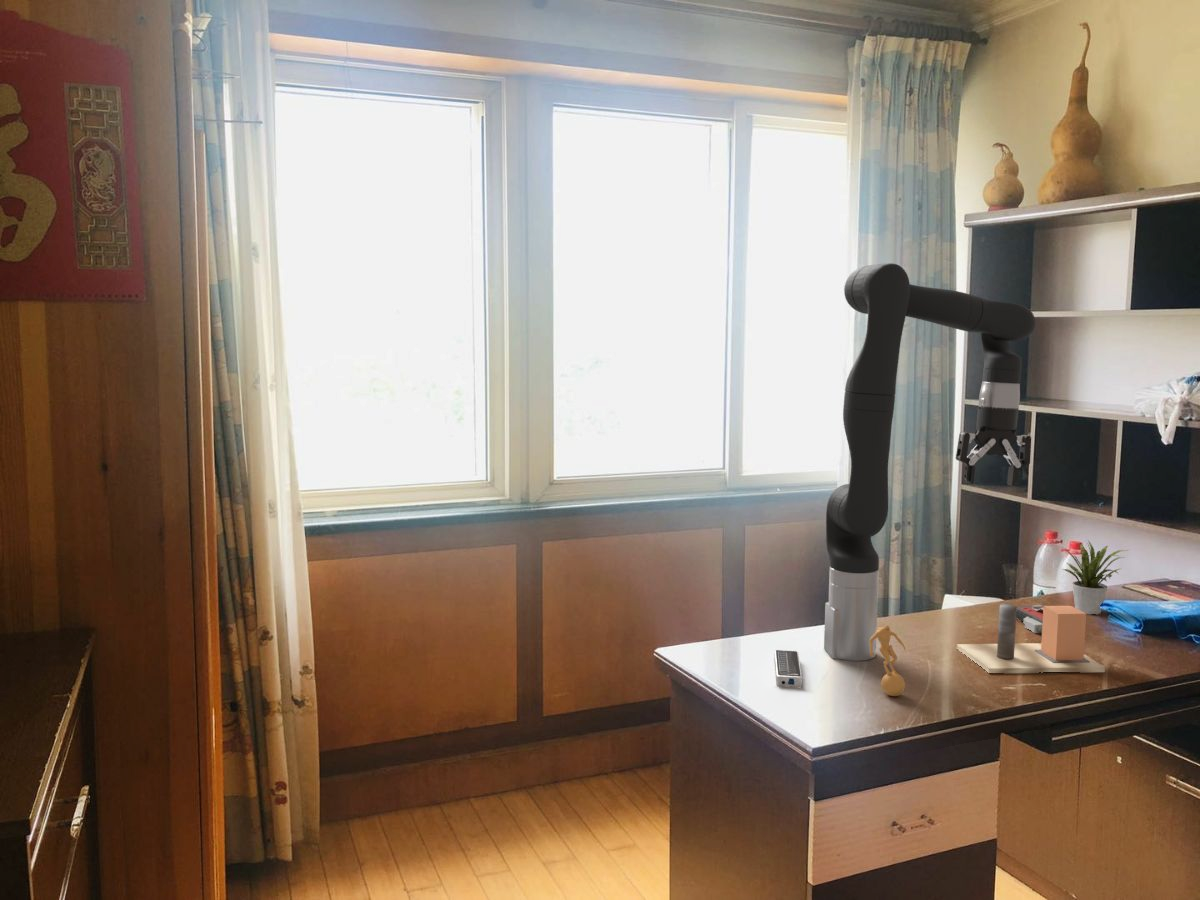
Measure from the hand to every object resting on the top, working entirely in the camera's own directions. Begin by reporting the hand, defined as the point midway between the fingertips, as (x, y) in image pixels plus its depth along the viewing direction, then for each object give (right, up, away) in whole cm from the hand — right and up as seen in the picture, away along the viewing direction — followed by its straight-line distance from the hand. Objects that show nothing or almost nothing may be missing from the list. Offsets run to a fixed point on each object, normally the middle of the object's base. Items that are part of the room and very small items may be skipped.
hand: (990, 484), depth 192 cm
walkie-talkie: (+16, -32, +9) cm, 37 cm away
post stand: (+3, -34, -10) cm, 35 cm away
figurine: (-29, -36, -28) cm, 54 cm away
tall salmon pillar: (+9, -32, -11) cm, 35 cm away
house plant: (+33, -30, +22) cm, 50 cm away
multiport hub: (-45, -35, -17) cm, 59 cm away
